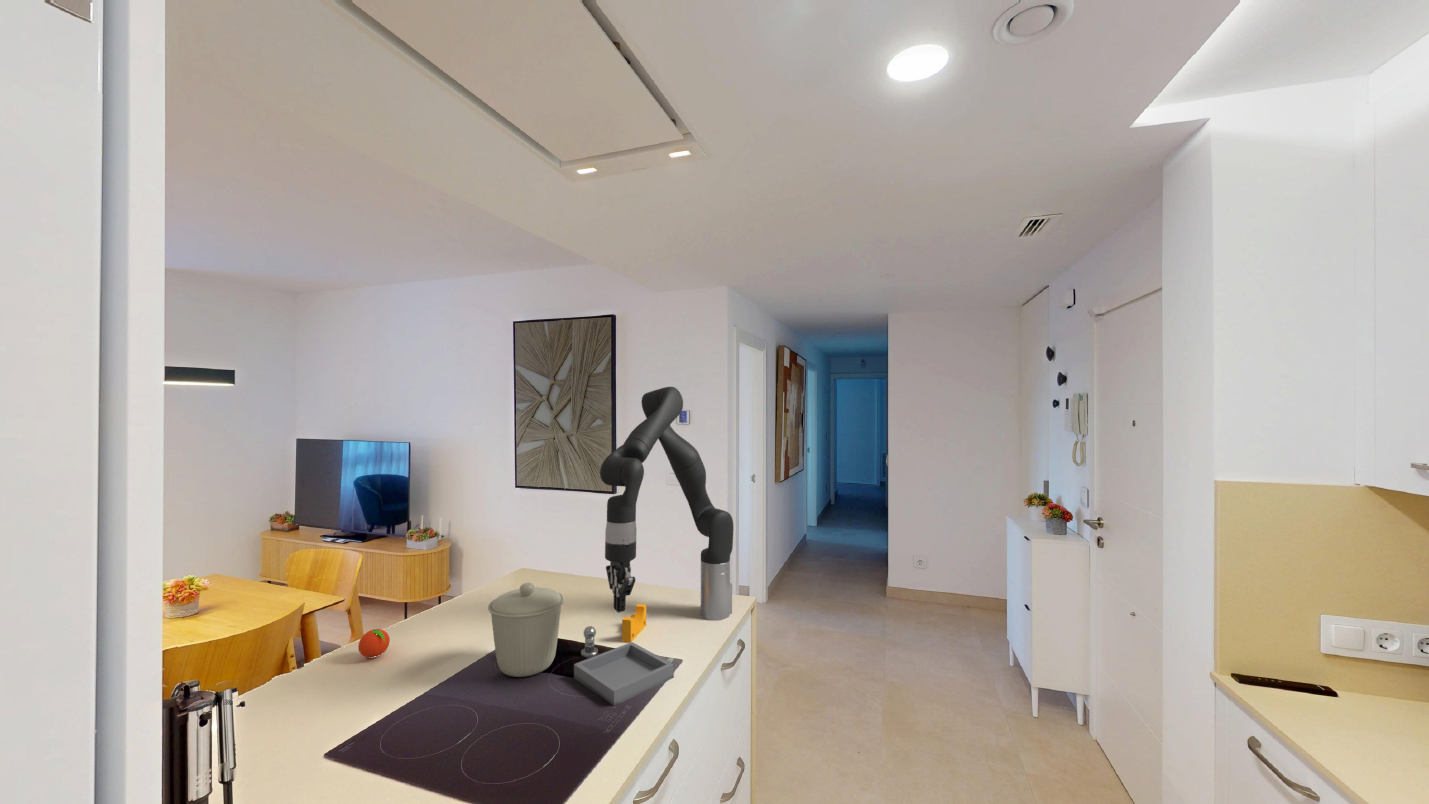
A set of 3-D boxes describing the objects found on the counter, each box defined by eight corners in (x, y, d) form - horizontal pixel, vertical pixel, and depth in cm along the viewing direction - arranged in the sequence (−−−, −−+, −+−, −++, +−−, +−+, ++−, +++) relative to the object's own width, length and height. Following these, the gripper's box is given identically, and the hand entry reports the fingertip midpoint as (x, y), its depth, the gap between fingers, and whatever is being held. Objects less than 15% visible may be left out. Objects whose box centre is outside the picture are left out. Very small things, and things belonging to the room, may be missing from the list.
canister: (578, 656, 139) (578, 576, 139) (533, 691, 122) (533, 600, 122) (521, 646, 145) (521, 569, 145) (471, 678, 128) (471, 591, 128)
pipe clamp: (632, 624, 159) (632, 603, 160) (646, 626, 158) (646, 604, 158) (616, 642, 148) (616, 618, 148) (630, 643, 147) (630, 620, 147)
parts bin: (631, 655, 140) (631, 641, 140) (673, 678, 128) (673, 664, 128) (574, 678, 128) (574, 664, 128) (614, 707, 116) (614, 691, 116)
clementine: (398, 654, 140) (398, 627, 140) (371, 666, 134) (371, 637, 134) (378, 648, 144) (379, 622, 144) (352, 659, 137) (352, 632, 137)
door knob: (592, 648, 144) (592, 621, 144) (601, 653, 140) (601, 626, 140) (577, 653, 140) (578, 626, 140) (586, 659, 137) (586, 631, 137)
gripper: (596, 535, 133) (594, 604, 133) (617, 547, 122) (615, 623, 122) (624, 531, 137) (622, 599, 137) (646, 543, 126) (645, 616, 126)
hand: (619, 610), depth 129 cm, fingers closed
